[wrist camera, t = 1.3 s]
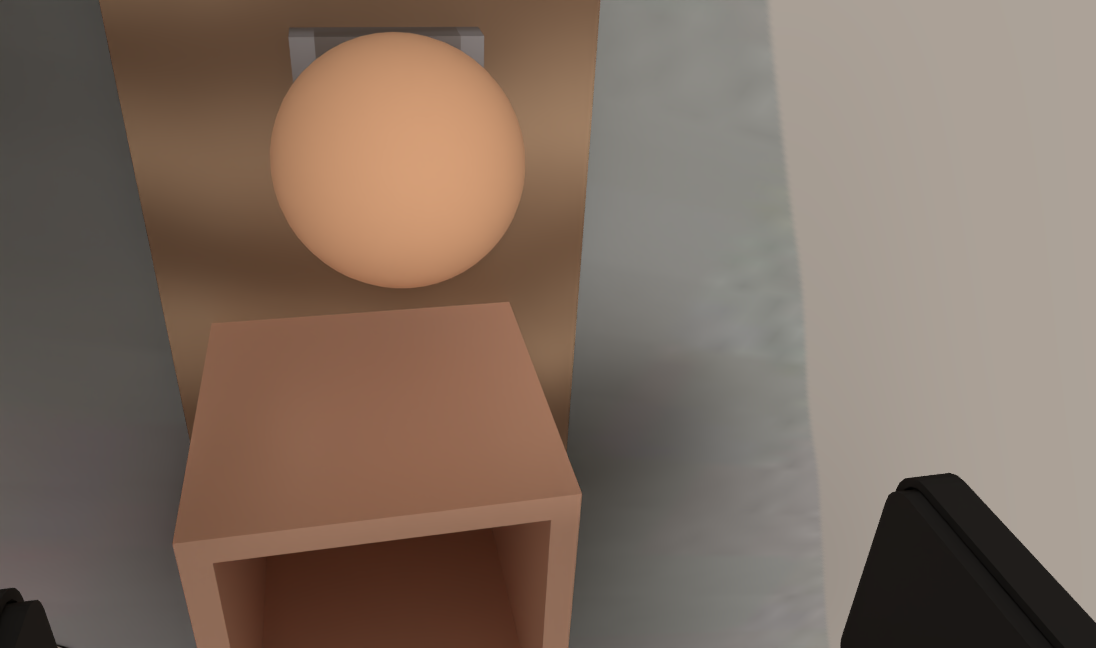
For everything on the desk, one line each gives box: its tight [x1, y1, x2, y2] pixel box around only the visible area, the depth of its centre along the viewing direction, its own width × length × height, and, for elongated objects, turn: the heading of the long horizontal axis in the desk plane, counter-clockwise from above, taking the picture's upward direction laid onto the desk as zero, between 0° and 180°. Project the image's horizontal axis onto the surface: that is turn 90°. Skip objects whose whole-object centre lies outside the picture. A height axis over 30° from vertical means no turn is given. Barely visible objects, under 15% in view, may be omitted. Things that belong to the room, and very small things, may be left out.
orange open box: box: [173, 302, 582, 648], centre depth 26 cm, size 9×9×9 cm
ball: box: [270, 32, 525, 288], centre depth 21 cm, size 6×6×6 cm
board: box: [99, 0, 600, 452], centre depth 29 cm, size 29×12×2 cm, turn 177°
